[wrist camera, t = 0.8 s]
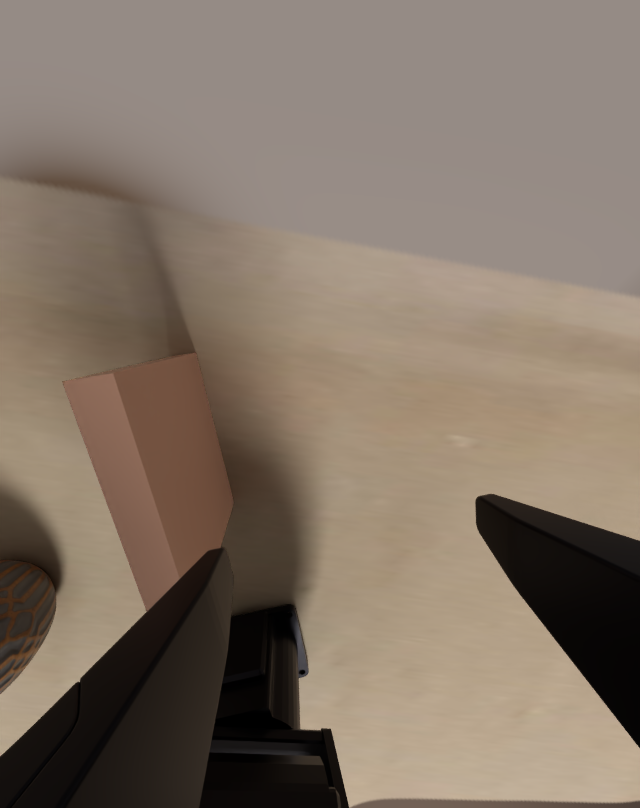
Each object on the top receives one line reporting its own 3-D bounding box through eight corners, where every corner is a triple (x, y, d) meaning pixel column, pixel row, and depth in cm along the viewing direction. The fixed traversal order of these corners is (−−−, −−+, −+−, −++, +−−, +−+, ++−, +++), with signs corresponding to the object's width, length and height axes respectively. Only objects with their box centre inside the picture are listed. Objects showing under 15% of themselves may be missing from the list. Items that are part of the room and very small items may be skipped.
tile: (234, 502, 21) (195, 628, 12) (211, 507, 21) (155, 637, 12) (196, 352, 18) (112, 373, 10) (169, 356, 18) (60, 381, 9)
